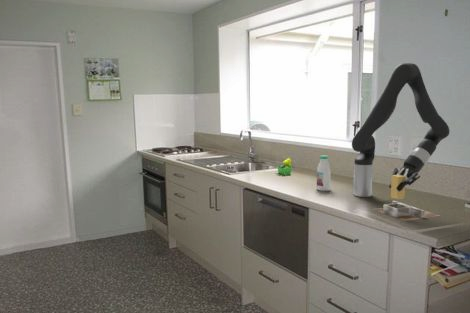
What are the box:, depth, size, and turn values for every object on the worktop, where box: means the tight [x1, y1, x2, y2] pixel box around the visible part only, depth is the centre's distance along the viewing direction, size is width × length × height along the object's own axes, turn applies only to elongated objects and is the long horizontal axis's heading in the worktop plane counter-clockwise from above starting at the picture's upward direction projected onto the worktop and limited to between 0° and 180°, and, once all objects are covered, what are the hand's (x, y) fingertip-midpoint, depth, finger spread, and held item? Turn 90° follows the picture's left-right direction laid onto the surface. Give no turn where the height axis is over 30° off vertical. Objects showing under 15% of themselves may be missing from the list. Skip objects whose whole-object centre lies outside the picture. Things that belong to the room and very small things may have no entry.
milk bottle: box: [316, 154, 331, 192], centre depth 227 cm, size 8×8×20 cm
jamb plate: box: [373, 200, 441, 222], centre depth 177 cm, size 20×20×4 cm
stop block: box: [390, 174, 406, 200], centre depth 173 cm, size 4×4×10 cm
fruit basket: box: [276, 157, 293, 176], centre depth 277 cm, size 11×9×11 cm
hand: (394, 188), depth 173 cm, fingers closed on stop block, 4 cm apart
